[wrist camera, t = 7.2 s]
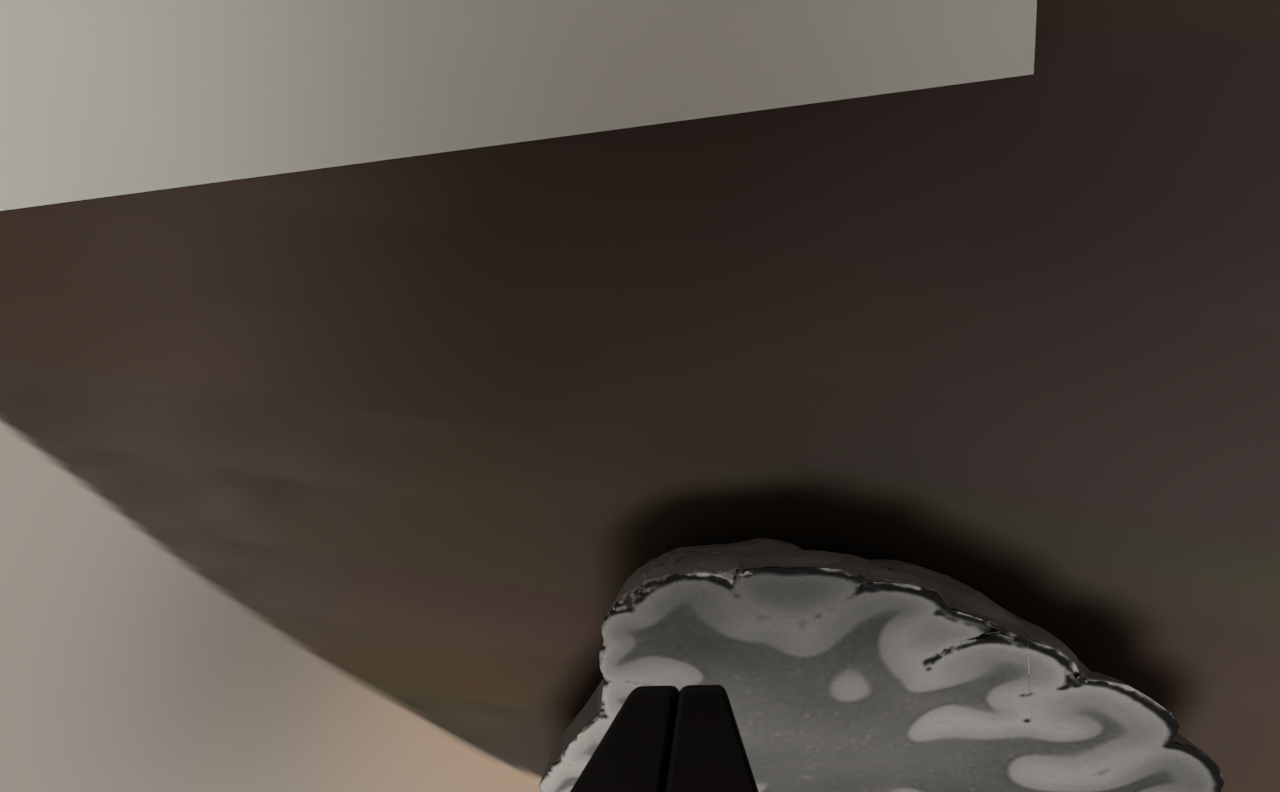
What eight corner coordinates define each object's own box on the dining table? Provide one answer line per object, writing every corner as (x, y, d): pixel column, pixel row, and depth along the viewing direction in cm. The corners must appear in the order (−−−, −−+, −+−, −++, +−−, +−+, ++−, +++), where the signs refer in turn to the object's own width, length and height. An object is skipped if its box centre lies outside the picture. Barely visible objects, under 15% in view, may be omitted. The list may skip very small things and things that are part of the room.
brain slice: (1093, 920, 34) (1115, 1016, 32) (591, 880, 36) (577, 969, 34) (1277, 485, 22) (1335, 589, 20) (516, 464, 25) (487, 556, 22)
